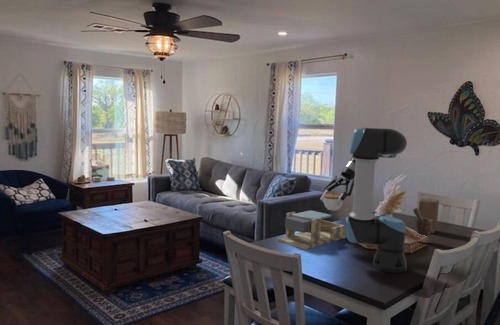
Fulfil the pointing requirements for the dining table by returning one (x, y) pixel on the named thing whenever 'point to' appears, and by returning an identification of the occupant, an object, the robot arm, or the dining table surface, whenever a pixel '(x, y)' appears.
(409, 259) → the dining table surface
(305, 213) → the grey flat box
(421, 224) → the mortar and pestle
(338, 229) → the stand
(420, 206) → the block
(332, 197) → the lidded jar
